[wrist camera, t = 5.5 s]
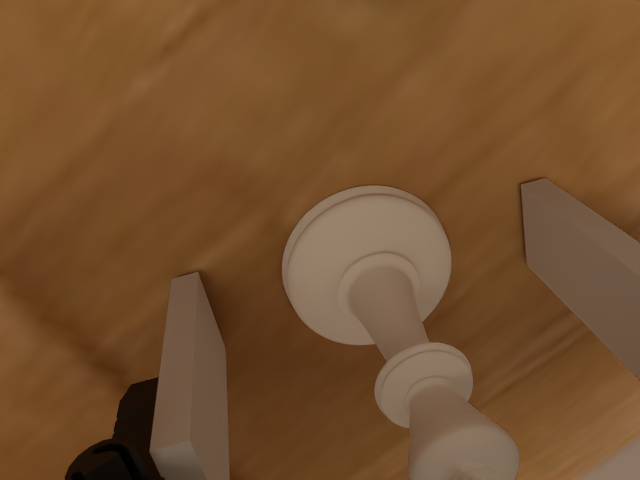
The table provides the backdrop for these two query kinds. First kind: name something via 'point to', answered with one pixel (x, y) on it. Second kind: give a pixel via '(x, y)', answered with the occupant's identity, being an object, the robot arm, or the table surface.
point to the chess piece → (395, 323)
